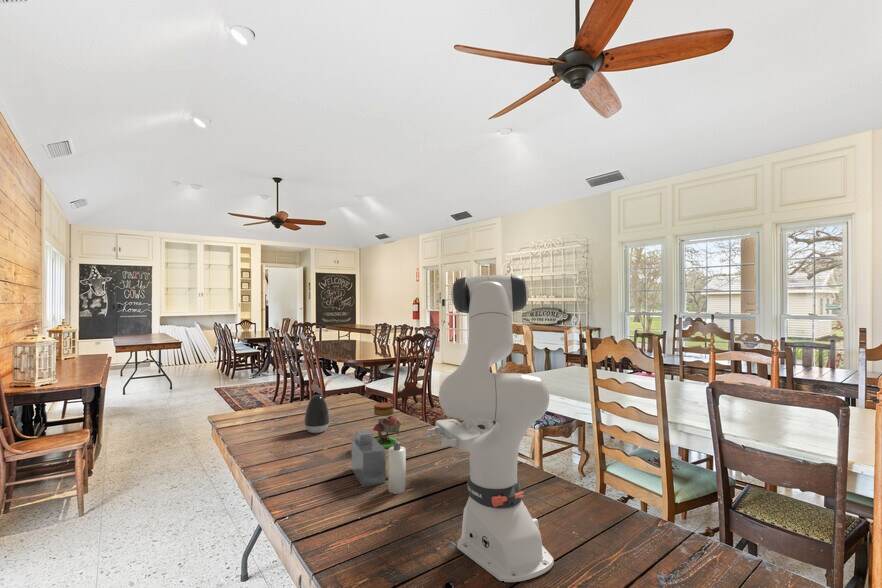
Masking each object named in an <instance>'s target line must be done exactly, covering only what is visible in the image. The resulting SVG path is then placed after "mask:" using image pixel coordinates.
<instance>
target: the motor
mask: <svg viewBox="0 0 882 588" xmlns="http://www.w3.org/2000/svg"><path fill="white" fill-rule="evenodd" d="M386 451H387V450H386V448H383V447H382V446H381V444H380V443H379V442H378V441H377V440H376V437H374V436H373V433H372V432H371V430H369V429H368V428H367V429H357V430H355V438H352V439H351V471H352V472H353V474H354V476H355V478H356V479H357V481H358V482H359V483H360V485H361V486H362V487H363V488H364V487H365V488H366V487H370V486H375V485H380V484H385V483H386V479H388V456H386V455H387V453H386Z"/></svg>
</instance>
